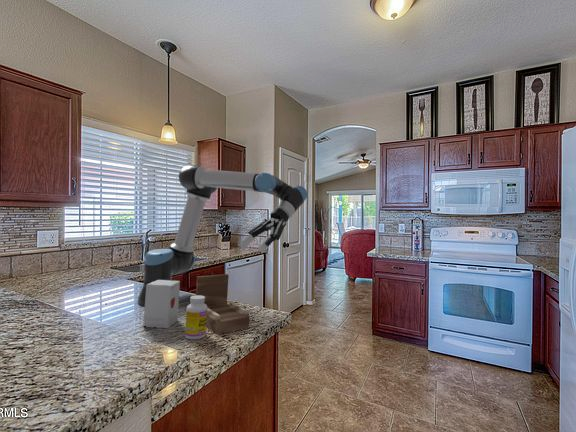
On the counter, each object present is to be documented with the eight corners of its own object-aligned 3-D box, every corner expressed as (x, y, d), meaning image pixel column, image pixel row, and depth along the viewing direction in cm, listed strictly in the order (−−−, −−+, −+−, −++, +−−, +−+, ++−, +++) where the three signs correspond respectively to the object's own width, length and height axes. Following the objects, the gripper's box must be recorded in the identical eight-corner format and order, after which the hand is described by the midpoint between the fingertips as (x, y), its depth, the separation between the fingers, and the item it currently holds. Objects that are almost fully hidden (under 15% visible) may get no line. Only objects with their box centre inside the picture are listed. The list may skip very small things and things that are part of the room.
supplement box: (168, 329, 101) (170, 285, 101) (142, 327, 101) (145, 284, 101) (178, 320, 110) (180, 280, 110) (155, 318, 110) (157, 279, 110)
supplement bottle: (198, 341, 92) (200, 300, 92) (180, 338, 93) (182, 298, 94) (209, 334, 98) (211, 295, 98) (192, 331, 100) (194, 293, 100)
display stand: (194, 317, 113) (196, 276, 114) (224, 312, 122) (226, 274, 122) (216, 334, 98) (219, 286, 99) (249, 326, 107) (251, 283, 107)
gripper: (306, 220, 117) (274, 259, 107) (270, 219, 136) (240, 252, 127) (296, 206, 113) (262, 245, 104) (261, 207, 133) (230, 240, 123)
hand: (250, 249), depth 115 cm, fingers open, 13 cm apart
